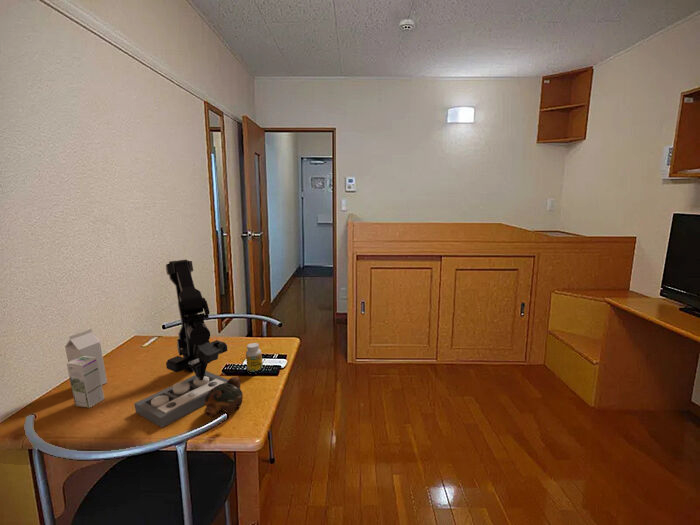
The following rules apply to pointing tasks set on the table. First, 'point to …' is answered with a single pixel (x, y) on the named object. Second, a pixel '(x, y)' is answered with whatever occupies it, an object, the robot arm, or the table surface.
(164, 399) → the button
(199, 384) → the button
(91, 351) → the milk carton
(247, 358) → the supplement bottle
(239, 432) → the table surface
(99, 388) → the syrup box
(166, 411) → the board
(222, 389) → the decorative turtle
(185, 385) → the button
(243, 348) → the table surface
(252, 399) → the table surface
